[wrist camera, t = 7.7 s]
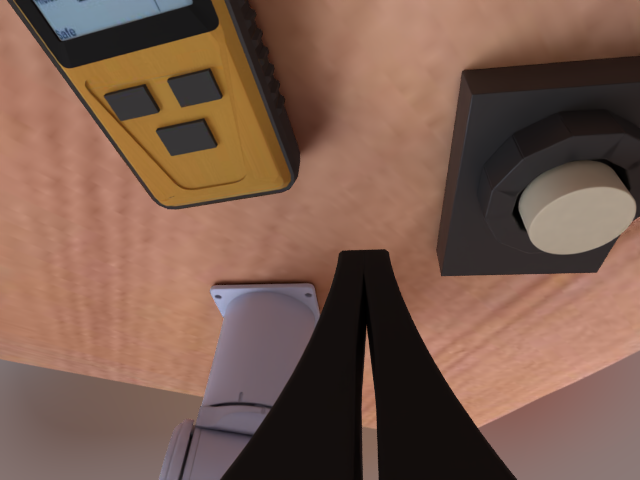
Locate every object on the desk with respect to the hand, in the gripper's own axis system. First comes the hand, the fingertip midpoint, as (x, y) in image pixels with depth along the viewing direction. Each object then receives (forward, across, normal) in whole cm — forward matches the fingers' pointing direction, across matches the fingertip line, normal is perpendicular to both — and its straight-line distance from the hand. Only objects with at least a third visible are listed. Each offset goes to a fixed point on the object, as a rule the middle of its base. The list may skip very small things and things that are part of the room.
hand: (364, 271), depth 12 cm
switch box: (+10, -9, +5) cm, 15 cm away
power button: (+7, -9, +3) cm, 12 cm away
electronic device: (+11, +8, -4) cm, 14 cm away
